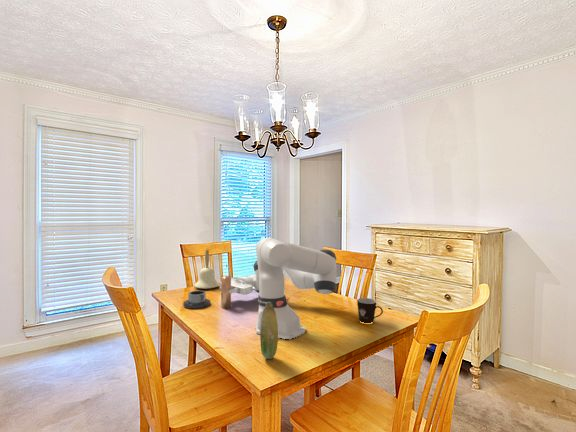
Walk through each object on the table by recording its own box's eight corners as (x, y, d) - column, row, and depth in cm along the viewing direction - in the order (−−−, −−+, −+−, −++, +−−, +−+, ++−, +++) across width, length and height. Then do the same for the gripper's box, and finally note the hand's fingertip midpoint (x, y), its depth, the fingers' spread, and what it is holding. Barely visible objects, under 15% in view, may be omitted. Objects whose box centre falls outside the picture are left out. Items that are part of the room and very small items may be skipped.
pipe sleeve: (215, 304, 169) (215, 292, 169) (194, 310, 158) (194, 298, 158) (199, 299, 178) (199, 287, 177) (177, 305, 166) (177, 293, 166)
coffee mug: (353, 320, 148) (353, 299, 148) (368, 317, 151) (369, 297, 151) (367, 329, 137) (368, 306, 137) (384, 326, 140) (384, 304, 140)
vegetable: (281, 358, 110) (281, 302, 109) (270, 365, 105) (271, 306, 104) (267, 353, 113) (268, 299, 113) (256, 360, 108) (257, 303, 107)
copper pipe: (232, 306, 165) (232, 276, 164) (225, 309, 161) (225, 278, 160) (226, 305, 168) (226, 275, 167) (219, 307, 164) (219, 277, 163)
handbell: (220, 289, 199) (220, 250, 198) (195, 291, 193) (196, 251, 192) (217, 283, 213) (217, 247, 212) (193, 285, 207) (193, 248, 206)
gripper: (257, 294, 168) (238, 300, 157) (231, 287, 181) (212, 293, 170) (257, 282, 168) (238, 287, 157) (231, 277, 180) (212, 281, 169)
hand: (224, 290), depth 163 cm, fingers closed on copper pipe, 5 cm apart
